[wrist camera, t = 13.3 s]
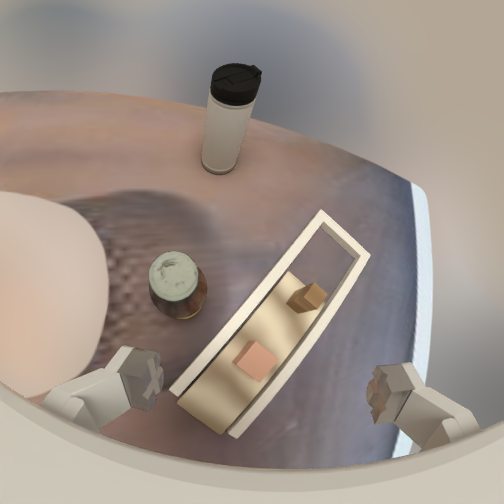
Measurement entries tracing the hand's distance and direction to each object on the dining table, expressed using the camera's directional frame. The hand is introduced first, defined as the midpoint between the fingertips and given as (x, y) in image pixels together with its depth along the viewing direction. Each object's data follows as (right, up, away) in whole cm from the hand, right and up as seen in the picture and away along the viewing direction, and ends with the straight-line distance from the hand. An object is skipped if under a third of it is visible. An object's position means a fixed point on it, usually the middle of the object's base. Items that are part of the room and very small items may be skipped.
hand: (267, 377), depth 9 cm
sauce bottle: (-11, -2, +30) cm, 32 cm away
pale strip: (0, -10, +30) cm, 32 cm away
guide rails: (+4, -6, +32) cm, 33 cm away
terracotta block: (-1, -11, +28) cm, 30 cm away
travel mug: (-6, +21, +38) cm, 44 cm away
